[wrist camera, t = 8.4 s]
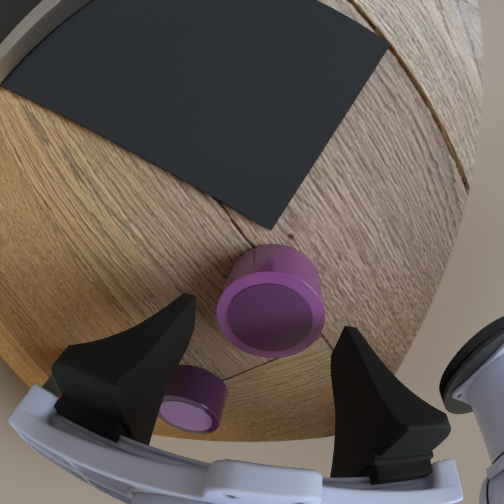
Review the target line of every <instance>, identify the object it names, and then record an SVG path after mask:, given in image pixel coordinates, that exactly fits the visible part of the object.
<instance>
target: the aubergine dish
mask: <svg viewBox="0 0 504 504" xmlns="http://www.w3.org/2000/svg"><path fill="white" fill-rule="evenodd" d="M226 398H227V389H226V387H225V385H224V384H223V382H222V381H221V380H220V379H219V378H217V377H216V376H215V375H213V374H212V373H210V372H208V371H206V370H203V369H200V368H197V367H192V366H177V368H176V370H175V372H174V374H173V376H172V378H171V380H170V383H169V385H168V387H167V390H166V393H165V396H164V398H163V401H162V404H161V407H160V410H159V413H158V416H159V417H160V418H161V419H162V420H164V421H165V422H166V423H168V424H170V425H171V426H173V427H175V428H178V429H180V430H183V431H187V432H191V433H198V434H205V433H211V432H214V431H215V430H217V429H218V428H219V426H220V422H221V418H222V414H223V410H224V406H225V402H226Z"/></svg>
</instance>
